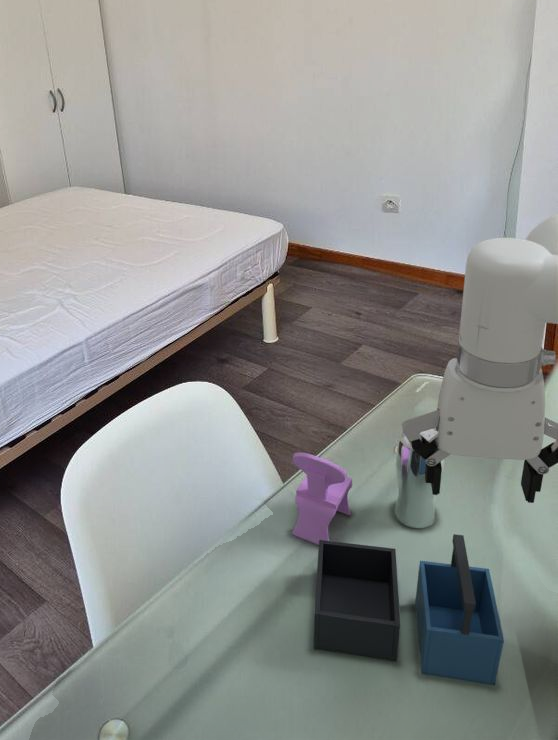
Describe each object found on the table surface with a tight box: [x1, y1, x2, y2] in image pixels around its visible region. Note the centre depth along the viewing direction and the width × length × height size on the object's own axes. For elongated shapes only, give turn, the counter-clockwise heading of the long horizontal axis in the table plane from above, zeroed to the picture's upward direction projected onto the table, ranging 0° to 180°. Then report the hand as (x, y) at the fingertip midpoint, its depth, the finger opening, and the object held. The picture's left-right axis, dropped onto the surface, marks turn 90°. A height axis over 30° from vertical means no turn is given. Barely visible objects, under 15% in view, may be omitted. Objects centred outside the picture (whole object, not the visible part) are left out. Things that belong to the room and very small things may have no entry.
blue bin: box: [414, 533, 505, 686], centre depth 85 cm, size 8×10×13 cm
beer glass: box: [393, 428, 446, 529], centre depth 104 cm, size 7×7×15 cm
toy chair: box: [291, 452, 353, 546], centre depth 104 cm, size 8×9×15 cm
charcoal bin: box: [313, 540, 401, 663], centre depth 91 cm, size 10×12×7 cm
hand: (480, 490), depth 77 cm, fingers open, 9 cm apart
